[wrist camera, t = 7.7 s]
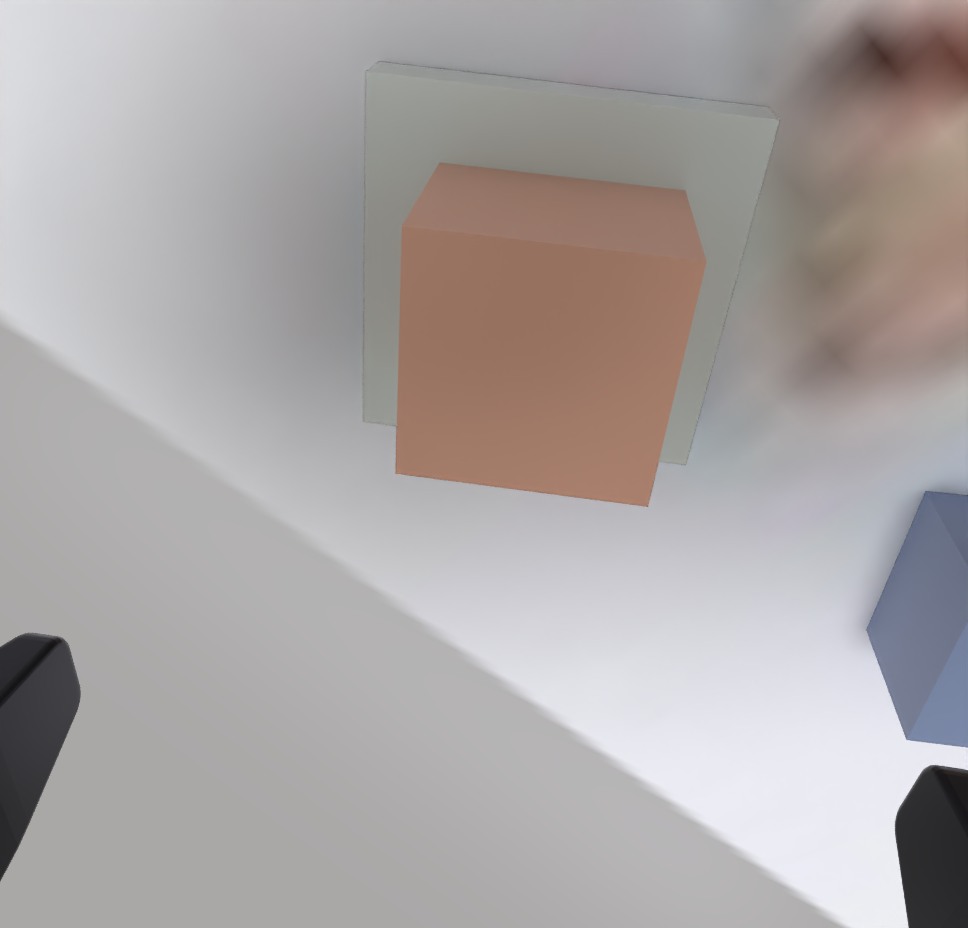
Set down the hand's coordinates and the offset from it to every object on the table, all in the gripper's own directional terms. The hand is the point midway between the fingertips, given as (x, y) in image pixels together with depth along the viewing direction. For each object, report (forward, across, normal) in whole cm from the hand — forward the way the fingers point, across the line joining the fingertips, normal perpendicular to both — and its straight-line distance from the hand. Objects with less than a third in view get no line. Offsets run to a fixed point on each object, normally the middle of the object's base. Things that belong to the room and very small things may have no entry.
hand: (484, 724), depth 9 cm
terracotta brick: (+12, 0, 0) cm, 12 cm away
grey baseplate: (+13, 0, 0) cm, 13 cm away
